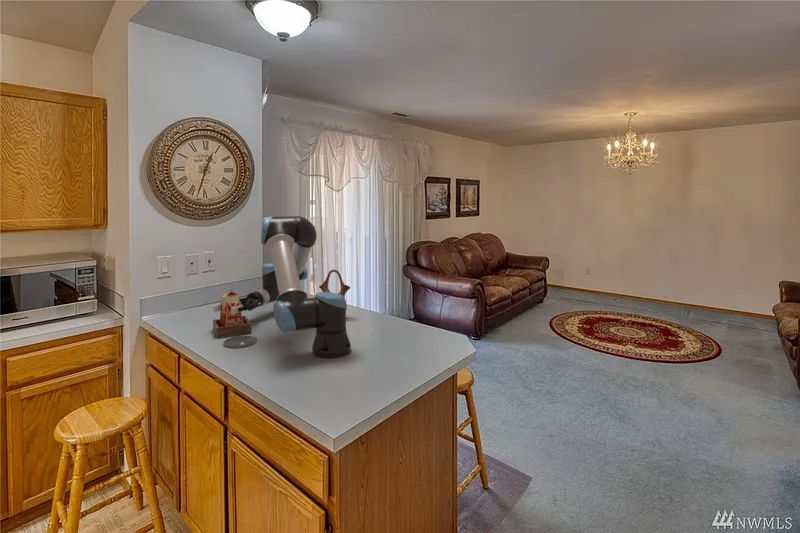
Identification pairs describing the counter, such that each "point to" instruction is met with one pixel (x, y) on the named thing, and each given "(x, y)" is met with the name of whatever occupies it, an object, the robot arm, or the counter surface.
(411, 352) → the counter surface
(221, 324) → the milk carton
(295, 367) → the counter surface
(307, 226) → the robot arm
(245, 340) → the slate coaster
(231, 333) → the walnut cradle
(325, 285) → the brown handbag
